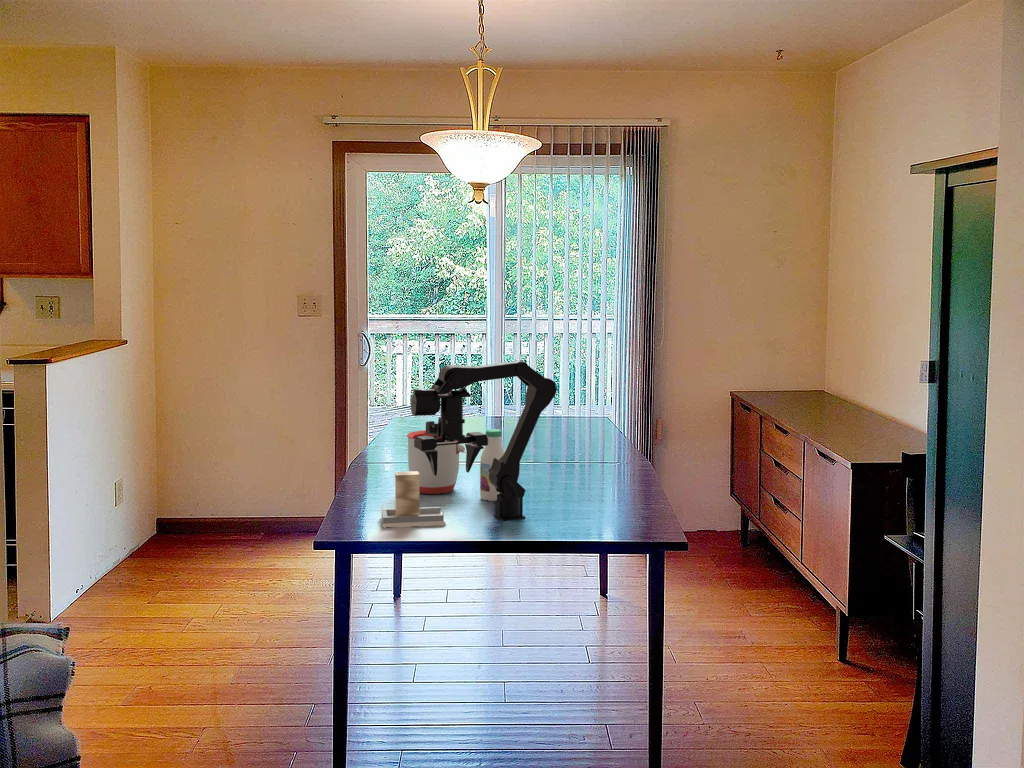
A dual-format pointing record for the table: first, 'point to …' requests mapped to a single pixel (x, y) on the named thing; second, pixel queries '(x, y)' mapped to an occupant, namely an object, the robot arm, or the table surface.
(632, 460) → the table surface
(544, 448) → the table surface
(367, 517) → the table surface
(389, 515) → the track board
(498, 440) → the milk bottle
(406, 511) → the upright wooden block
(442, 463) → the citrus juicer
